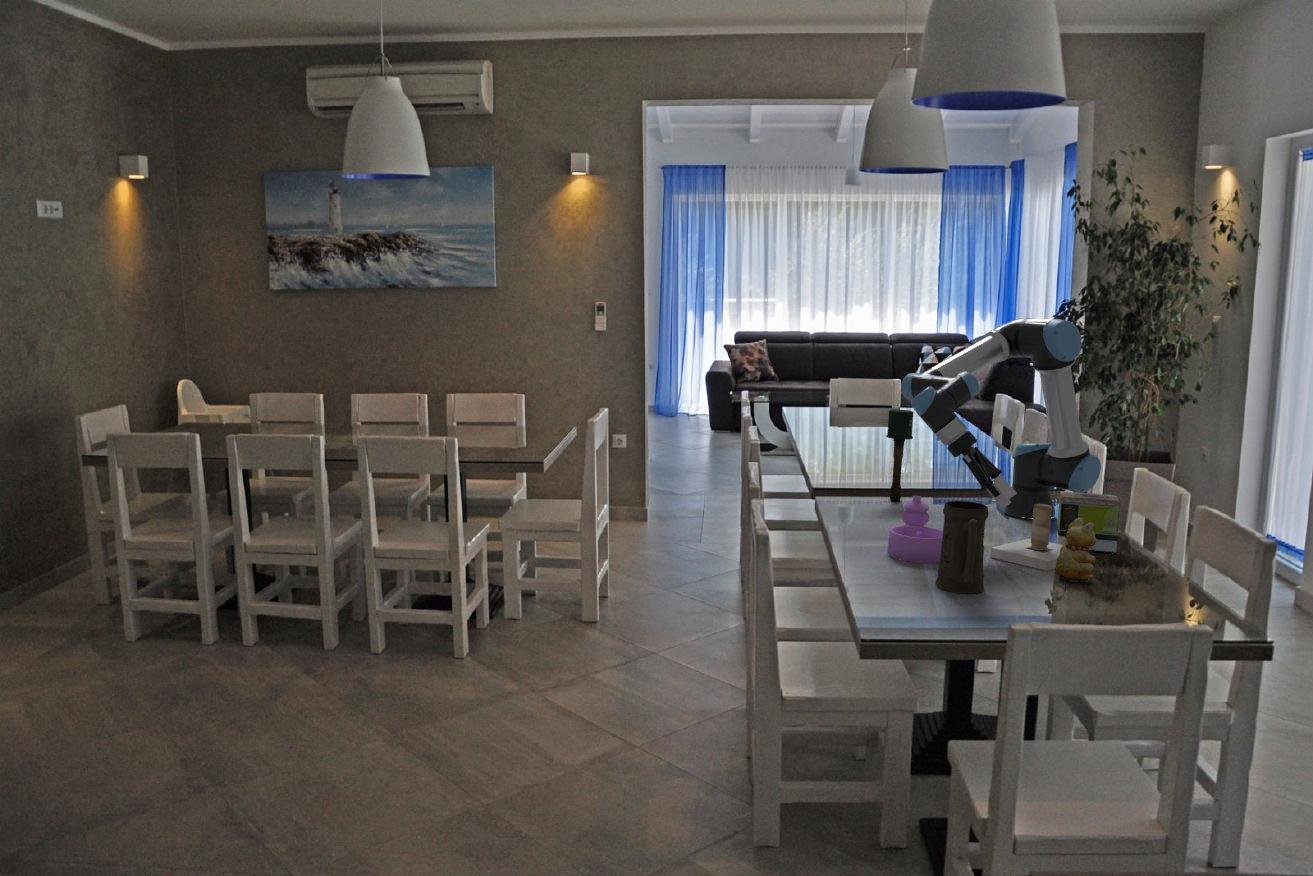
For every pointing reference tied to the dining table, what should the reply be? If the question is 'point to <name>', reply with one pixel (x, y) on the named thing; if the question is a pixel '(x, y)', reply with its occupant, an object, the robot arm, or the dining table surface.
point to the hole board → (1027, 554)
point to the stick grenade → (898, 444)
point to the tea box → (1090, 517)
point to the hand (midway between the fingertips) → (1009, 501)
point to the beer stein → (962, 547)
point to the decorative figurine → (1077, 553)
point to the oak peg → (1041, 527)
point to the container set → (915, 535)
